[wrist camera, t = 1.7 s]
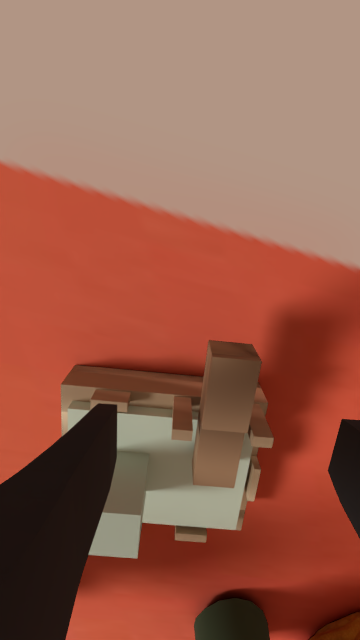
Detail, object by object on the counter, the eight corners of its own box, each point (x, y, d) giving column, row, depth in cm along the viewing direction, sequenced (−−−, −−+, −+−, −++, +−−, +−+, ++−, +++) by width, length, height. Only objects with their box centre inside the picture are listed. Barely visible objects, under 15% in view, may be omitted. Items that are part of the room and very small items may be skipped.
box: (234, 499, 23) (250, 579, 18) (75, 486, 23) (44, 563, 18) (258, 381, 20) (284, 437, 15) (75, 365, 20) (37, 415, 15)
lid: (233, 518, 21) (248, 603, 16) (73, 505, 20) (41, 587, 16) (254, 416, 18) (278, 481, 14) (72, 400, 18) (35, 461, 13)
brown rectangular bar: (229, 465, 18) (235, 494, 16) (191, 462, 18) (193, 491, 16) (251, 344, 16) (261, 361, 14) (208, 340, 16) (212, 356, 14)
